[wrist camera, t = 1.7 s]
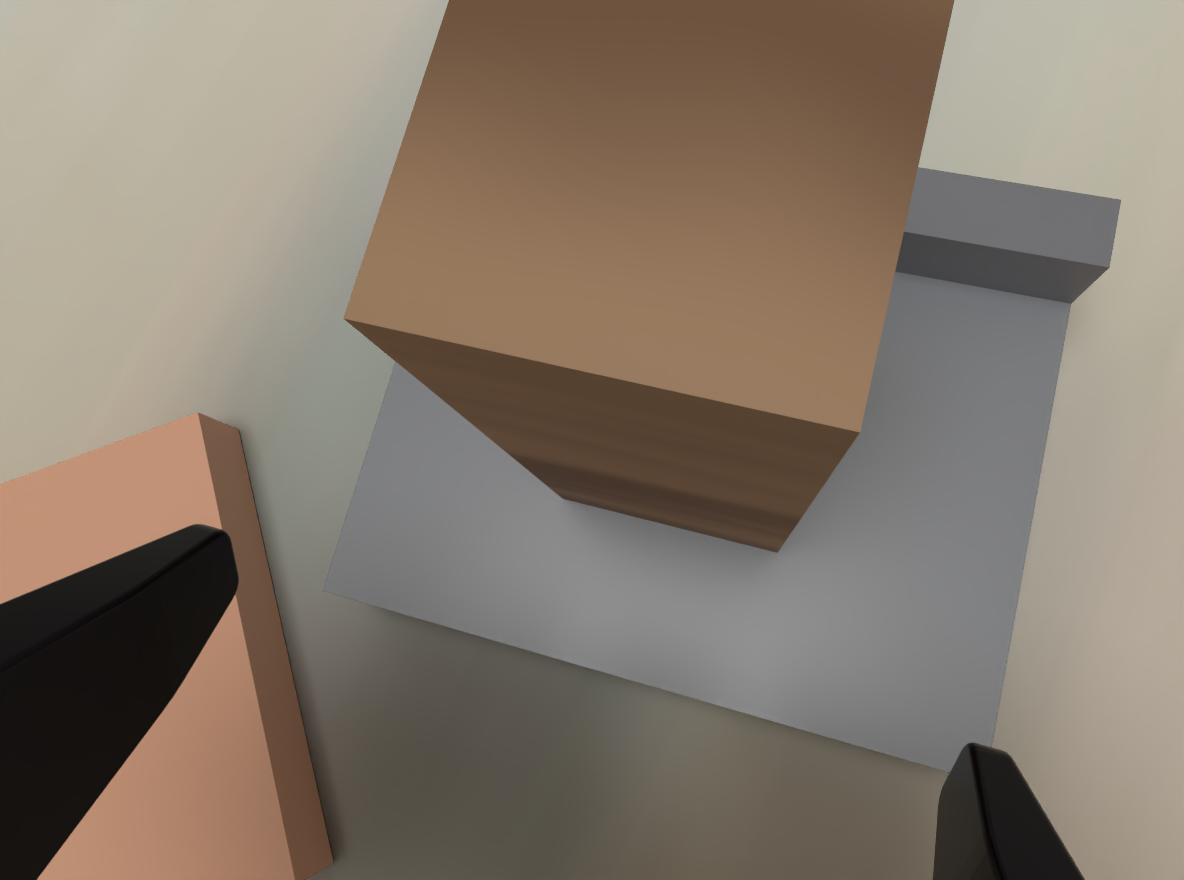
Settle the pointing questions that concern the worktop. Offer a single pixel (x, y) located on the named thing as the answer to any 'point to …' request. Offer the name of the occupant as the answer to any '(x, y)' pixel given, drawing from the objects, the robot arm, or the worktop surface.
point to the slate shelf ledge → (822, 536)
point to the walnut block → (657, 241)
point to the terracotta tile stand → (211, 688)
